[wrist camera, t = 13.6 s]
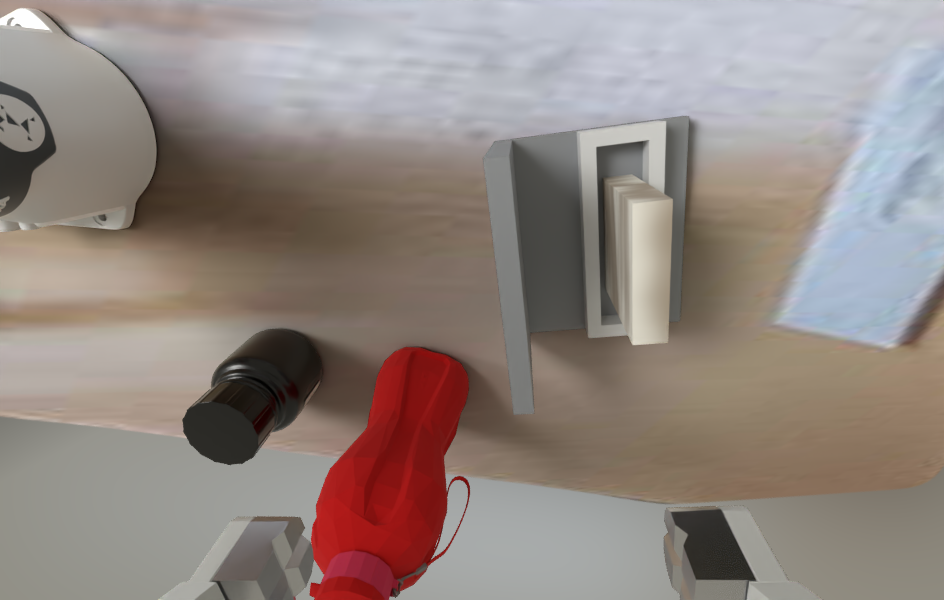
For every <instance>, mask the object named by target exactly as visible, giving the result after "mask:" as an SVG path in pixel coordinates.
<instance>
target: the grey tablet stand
mask: <svg viewBox="0 0 944 600" xmlns="http://www.w3.org/2000/svg"><path fill="white" fill-rule="evenodd" d="M688 130H689V116H680V117H673V118H665V119H658V120H650V121H643V122H636V123H628V124H621V125H613V126H606V127H598V128H591V129H584V130H576V131H569V132H561V133H554V134H547V135H539V136H532V137H524V138H517V139H510V140H502V141H495V142H494V143H493V145H492V146H491V148H490V149H489V151H488V152H487V154H486V155H485V157H484V158H483V162H484V171H485V179H486V188H487V196H488V204H489V213H490V221H491V229H492V238H493V246H494V254H495V263H496V271H497V279H498V288H499V296H500V305H501V313H502V321H503V330H504V338H505V346H506V355H507V363H508V371H509V380H510V388H511V397H512V405H513V413H514V415H517V414H534V396H533V377H532V358H531V339H530V333H534V332H547V331H560V330H573V329H586V332H587V336H588V338H599V337H612V336H626V335H627V333H626V331H625V328H624V326H623V324H622V322H621V320H620V318H619V316H618V314H617V312H616V310H615V307H614V305H613V303H612V301H611V299H610V297H609V295H608V293H607V291H606V289H605V259H604V218H603V178H606V177H614V176H623V175H631V174H632V175H634V176H636V177H637V178H639V179H640V180H642V181H644V182H645V183H647V184H649V185H650V186H652V187H654V188H655V189H657V190H659V191H660V192H662V193H664V194H665V195H667V196H669V197H670V198H672V199H673V212H672V242H671V272H670V302H669V322H678V321H680V312H681V289H682V266H683V244H684V221H685V198H686V175H687V153H688Z"/></svg>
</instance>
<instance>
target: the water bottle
mask: <svg viewBox="0 0 944 600" xmlns="http://www.w3.org/2000/svg"><path fill="white" fill-rule="evenodd" d="M468 391H469V381H468V376H467V373H466V371H465V370H464V368H463V366H462V364H461V363H459V362H457V361H456V360H454V359H452V358H451V357H449V356H447V355H445V354H440V353H435V352H431V351H429V350H426V349H423V348H415V347H404V348H402V349H400V350H398V351H395V352H394V353H393V354H392V355H391V356H390V357H388V358H387V359H386V360H385V362H384V364H383V366H382V368H381V370H380V372H379V374H378V377H377V380H376V386H375V391H374V396H373V402H372V407H371V409H370V413H369V420H368V426H367V428H366V430H365V431H364V432H363V433H362V434H361V435H360V436H359V437H358V439H357V440H356V441H355V442H354V443H353V444H352V445H351V446H350V447H349V449H348V450H347V451H346V452H345V453H344V454H343V455H342V456H341V457H340V458H339V460H338V461H337V462H336V463H335V464H334V465H333V466H332V467H331V468H330V470H329V473H328V475H327V477H326V479H325V482H324V484H323V487H322V490H321V493H320V496H319V498H318V501H317V504H316V513H317V518H316V520H315V522H314V524H313V527H312V536H311V543H312V548H313V555H314V560H315V561H316V563H317V565H318V566H319V567H320V569H321V571H322V572H323V574H324V577H323V579H322V582H321V584H316V583H311V586H310V596H312V597H314V598H315V599H314V600H389V597H390V596H391V597H395V598H396V597H397V596H398V595H399V594H400V591H402V590H404V589H406V588H408V587H410V586H412V585H414V584H415V583H416V581H417V580H418V579H419V578H420V577H421V576H422V575H423V574H424V573H425V572H426V570H427V568H428V566H429V565H430V564H431V563H432V562H434V561H435V560H436V559H438V558H439V557H441V556H442V555H443V554H444V553H445V552H446V551H447V549H448V548H449V546H450V544H451V543H452V541H453V539H454V537H455V535H456V533H457V531H458V529H459V527H460V524H461V522H462V520H463V517H464V514H463V517H462V519H461V521H460V524H459V526H458V528H457V530H456V532H455V534H454V536H453V538H452V540H451V542H450V543H449V545H448V546H447V547H446V549H445V550H444V551H443V552H441V553H440V554H439V555H437V556H435V557H434V558H433V559H432V560H431V558H432V556H433V555H434V553H435V550H436V549H437V546H438V544H439V541H440V537H441V533H442V529H443V523H444V519H445V516H446V513H447V496H448V491H449V487H450V485H451V484H452V482H454V481H455V480H462V481H464V482H465V484H466V485H467V488H468V500H467V504H466V508H467V505H468V501H469V496H470V486H469V483H468V481H467V480H466V479H465V478H464V477H462V476H458V477H455V478H454V479H452V481H451V482H450V485H449V487H448V491H447V490H446V478H445V466H444V455H445V454H446V452H447V450H448V448H449V446H450V444H451V442H452V441H453V439H454V437H455V435H456V431H457V426H458V421H459V418H460V414H461V412H462V410H463V408H464V406H465V403H466V399H467V395H468ZM466 508H465V511H466ZM465 511H464V513H465ZM439 535H440V536H439ZM438 538H439V540H438ZM437 540H438V543H437V545H436V542H437ZM435 545H436V547H435ZM434 548H435V549H434Z"/></svg>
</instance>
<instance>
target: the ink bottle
mask: <svg viewBox="0 0 944 600" xmlns="http://www.w3.org/2000/svg"><path fill="white" fill-rule="evenodd" d="M322 374H323V369H322V363H321V360H320V357H319V355H318V353H317V351H316V350H315V348H314V347H313V346H312V345H311V343H310V342H309V341H308V340H306V339H305V338H304V337H302V336H301V335H299V334H297V333H294V332H292V331H288V330H283V329H268V330H264V331H261V332H259V333H257V334H255V335H253V336H252V337H251V338H250V339H249V340H247V341H246V342H245V343H244V344H243V345H242V346H240V347H239V348H238V349H237V350H236V351H235V352H234V353H232V354H231V355H230V356H229V357H228V358H227V359H225V360H224V361H223V362H222V363H221V364H220V365H219V366H218V367H217V369H216V370H215V372H214V374H213V377H212V381H211V389H209V390H208V391H207V392H206V393H205V394H204V395H203V396H202V397H201V398H200V399H198V400H197V401H196V402H195V403H194V404H193V405H192V406H191V407H190V408H189V409H188V410H187V412H186V414H185V416H184V418H183V428H184V430H183V432H184V434H185V435H186V437H187V439H188V440H189V443H190V444H191V446H193V447H194V448H195V449H196V450H197V451H198V452H199V453H200V454H201V455H203V456H205V457H207V458H209V459H211V460H213V461H214V462H219V463H224V464H228V465H231V464H243V463H244V462H245V461H247V460H249V459H252V458H253V457H254V456H255V454H256V453H257V452H258V450H259V449H260V448H261V446H262V445H263V444H264V442H265V441H266V440H267V438H268V437H269V436H270V434H271V433H272V432H276V431H279V430H282V429H284V428H286V427H287V426H289V425H290V424H291V423H292V422H293V421H294V420H295V419H296V418H297V416H298V415H299V414H300V412H301V411H302V409H303V408H304V407H305V405H306V404H307V402H308V401H309V400H310V398H311V397H312V395H313V394H314V393H315V391H316V390H317V388H318V387H319V385H320V383H321V380H322Z"/></svg>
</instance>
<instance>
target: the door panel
mask: <svg viewBox="0 0 944 600" xmlns="http://www.w3.org/2000/svg"><path fill="white" fill-rule="evenodd" d="M672 212H673V199H672V198H670V197H669V196H667V195H665V194H664V193H662V192H660V191H659V190H657V189H655V188H654V187H652V186H650V185H649V184H647V183H645V182H644V181H642V180H640V179H639V178H637V177H636V176H634V175H632V174H631V175H623V176H614V177H606V178H603V218H604V259H605V289H606V291H607V293H608V295H609V297H610V299H611V301H612V303H613V305H614V307H615V310H616V312H617V314H618V316H619V318H620V320H621V322H622V324H623V326H624V328H625V331H626V333H627V335H628V337H629V339H630V341H631V343H632V345H643V344H657V343H668V331H669V302H670V272H671V242H672Z"/></svg>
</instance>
